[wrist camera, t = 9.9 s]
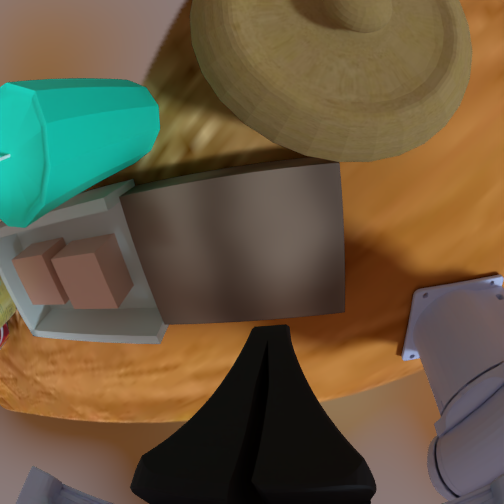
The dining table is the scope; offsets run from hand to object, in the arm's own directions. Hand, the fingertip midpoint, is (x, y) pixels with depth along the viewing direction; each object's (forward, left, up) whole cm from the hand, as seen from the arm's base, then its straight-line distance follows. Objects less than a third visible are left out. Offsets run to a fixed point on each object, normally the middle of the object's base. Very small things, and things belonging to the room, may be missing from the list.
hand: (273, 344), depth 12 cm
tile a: (+14, 0, -9) cm, 17 cm away
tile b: (+19, 0, -9) cm, 21 cm away
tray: (+16, 0, -10) cm, 19 cm away
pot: (-4, -12, -10) cm, 16 cm away
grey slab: (+2, 0, -10) cm, 10 cm away
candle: (+9, -9, -10) cm, 17 cm away
